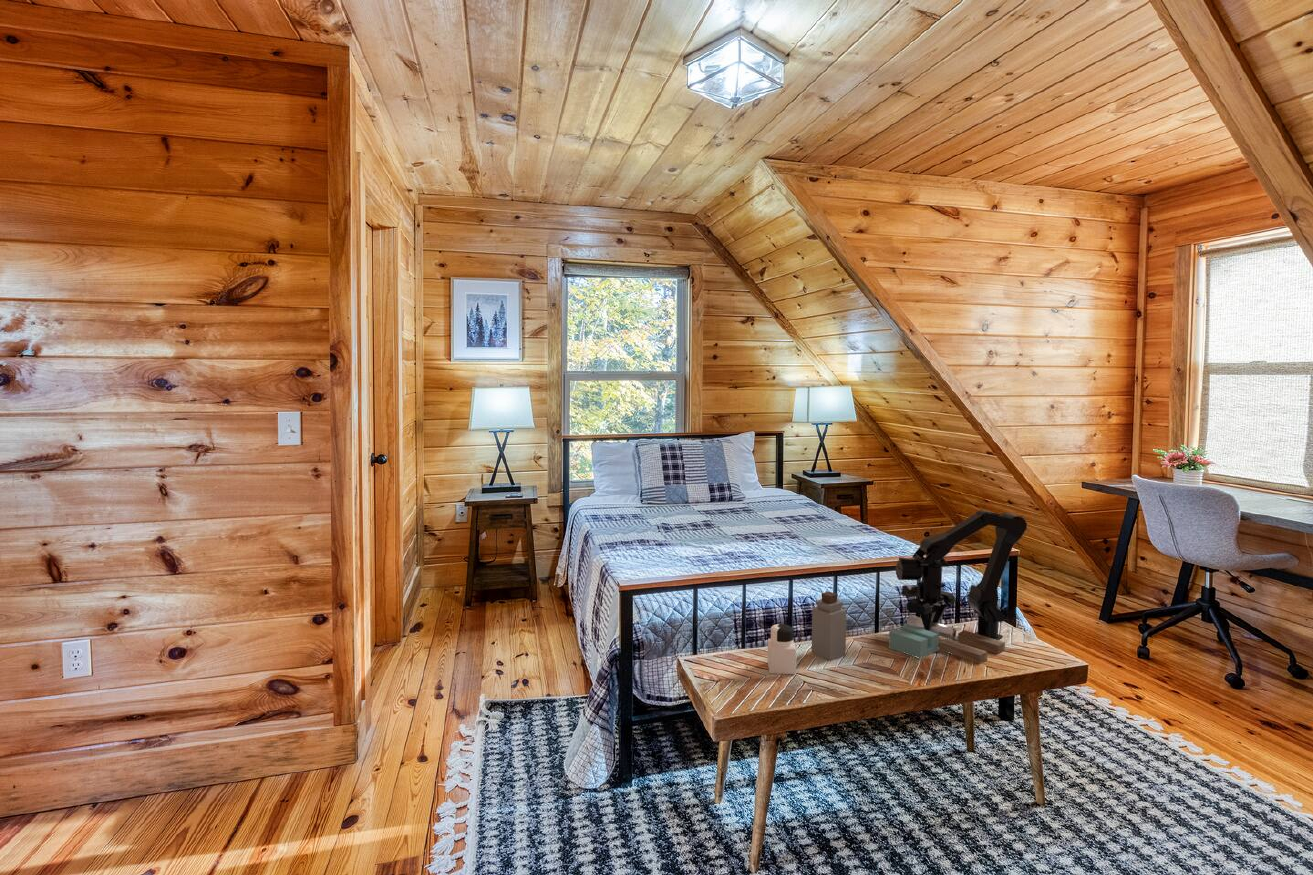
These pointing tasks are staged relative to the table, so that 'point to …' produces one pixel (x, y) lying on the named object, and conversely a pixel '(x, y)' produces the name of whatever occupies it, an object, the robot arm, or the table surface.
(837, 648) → the perfume bottle
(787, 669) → the medicine bottle
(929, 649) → the v-block
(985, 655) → the walnut beams
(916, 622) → the steel shaft
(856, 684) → the table surface
